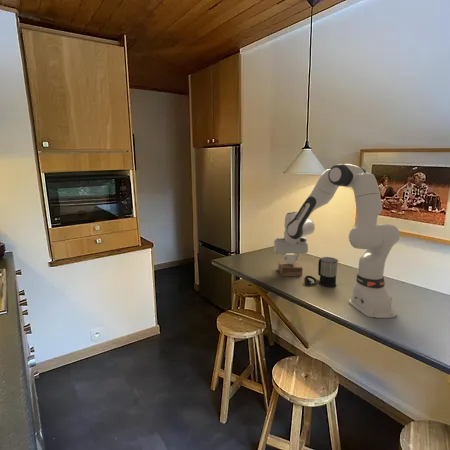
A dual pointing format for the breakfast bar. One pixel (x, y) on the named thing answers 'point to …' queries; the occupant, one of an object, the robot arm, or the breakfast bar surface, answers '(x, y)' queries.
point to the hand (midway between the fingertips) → (290, 260)
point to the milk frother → (325, 273)
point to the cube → (290, 258)
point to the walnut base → (290, 269)
